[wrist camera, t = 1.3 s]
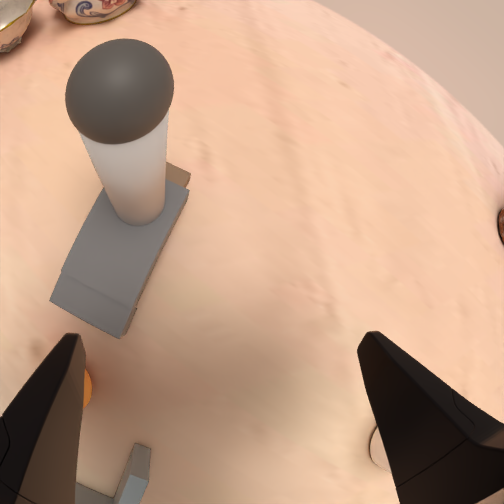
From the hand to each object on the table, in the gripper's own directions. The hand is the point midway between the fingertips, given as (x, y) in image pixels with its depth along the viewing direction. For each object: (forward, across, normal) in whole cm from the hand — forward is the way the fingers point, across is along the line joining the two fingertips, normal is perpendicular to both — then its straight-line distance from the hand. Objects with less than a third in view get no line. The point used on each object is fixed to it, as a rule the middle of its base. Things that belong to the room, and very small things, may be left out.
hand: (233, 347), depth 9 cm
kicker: (+13, +5, +6) cm, 15 cm away
